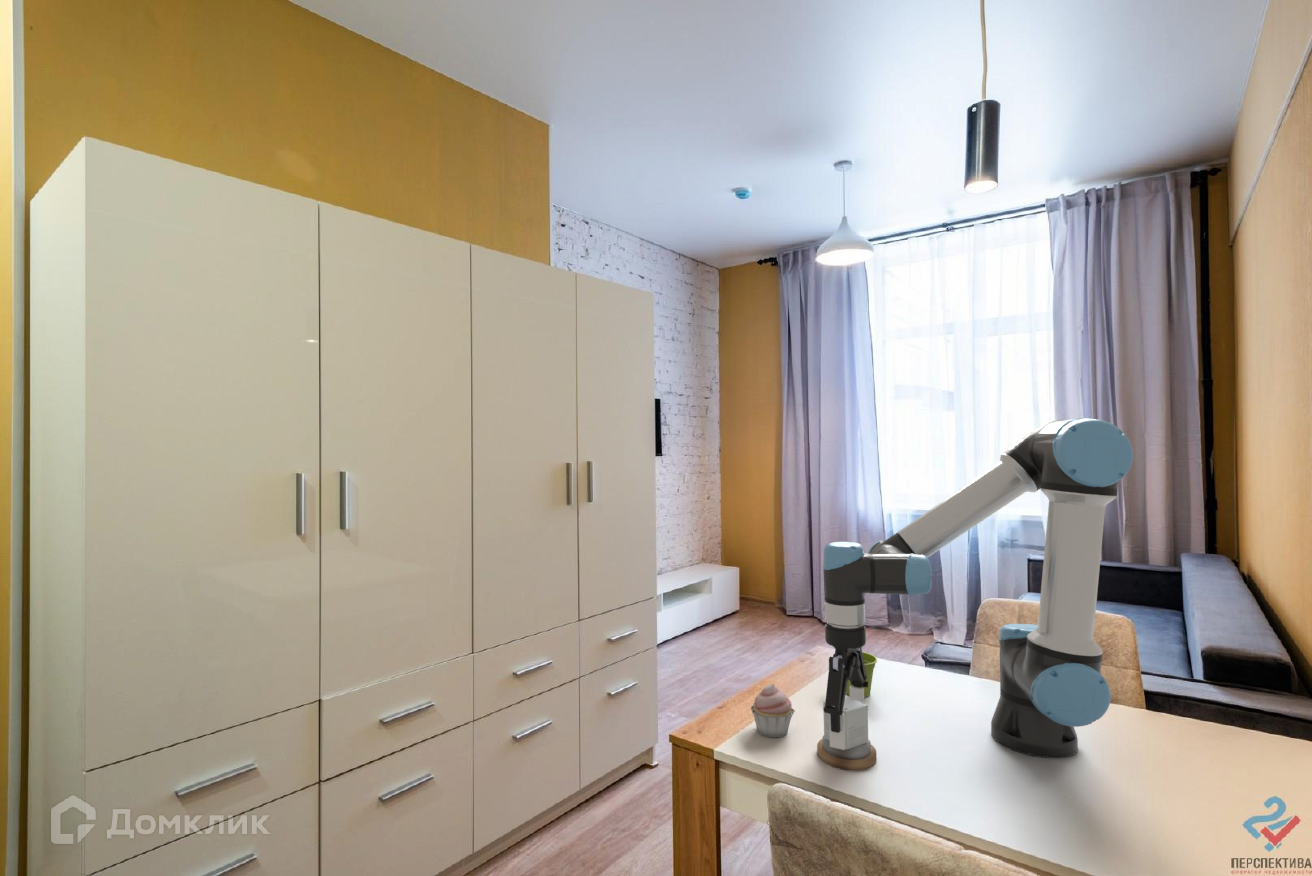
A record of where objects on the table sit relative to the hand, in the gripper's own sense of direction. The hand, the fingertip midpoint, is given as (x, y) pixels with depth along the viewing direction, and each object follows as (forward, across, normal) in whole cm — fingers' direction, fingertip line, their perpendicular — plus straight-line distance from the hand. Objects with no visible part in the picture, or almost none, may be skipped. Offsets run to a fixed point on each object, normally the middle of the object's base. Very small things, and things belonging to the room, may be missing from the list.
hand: (848, 733), depth 126 cm
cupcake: (+4, -3, -17) cm, 18 cm away
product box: (+2, 0, 0) cm, 2 cm away
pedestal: (+4, 0, 0) cm, 5 cm away
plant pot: (+5, -32, -7) cm, 33 cm away
